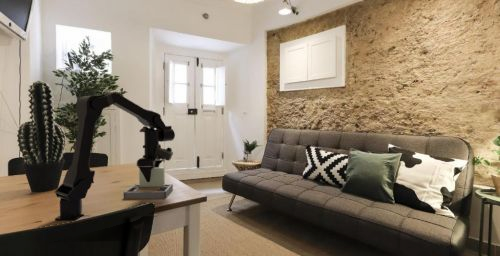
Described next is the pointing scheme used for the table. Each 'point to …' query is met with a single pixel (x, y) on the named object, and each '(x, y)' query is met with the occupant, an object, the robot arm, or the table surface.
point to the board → (153, 178)
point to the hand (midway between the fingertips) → (151, 179)
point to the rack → (158, 194)
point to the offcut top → (146, 190)
